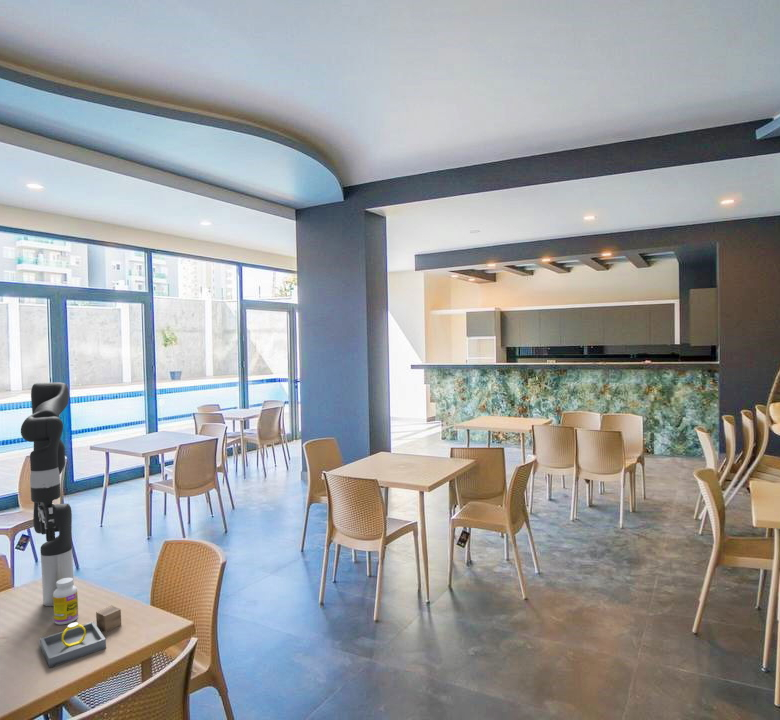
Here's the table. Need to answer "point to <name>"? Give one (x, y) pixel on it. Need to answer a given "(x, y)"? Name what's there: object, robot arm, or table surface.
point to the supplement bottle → (65, 602)
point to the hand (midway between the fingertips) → (48, 537)
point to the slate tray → (60, 653)
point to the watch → (73, 626)
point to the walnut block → (108, 618)
